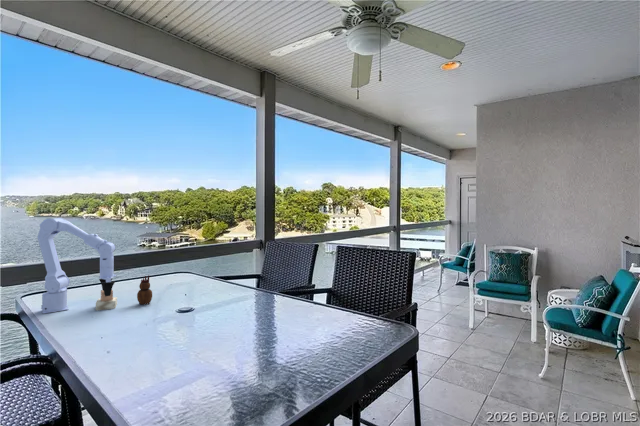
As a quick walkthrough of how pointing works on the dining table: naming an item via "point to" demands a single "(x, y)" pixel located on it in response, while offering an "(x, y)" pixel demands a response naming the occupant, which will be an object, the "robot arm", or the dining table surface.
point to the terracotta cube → (106, 298)
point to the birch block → (106, 304)
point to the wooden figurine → (144, 292)
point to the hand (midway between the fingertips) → (106, 294)
